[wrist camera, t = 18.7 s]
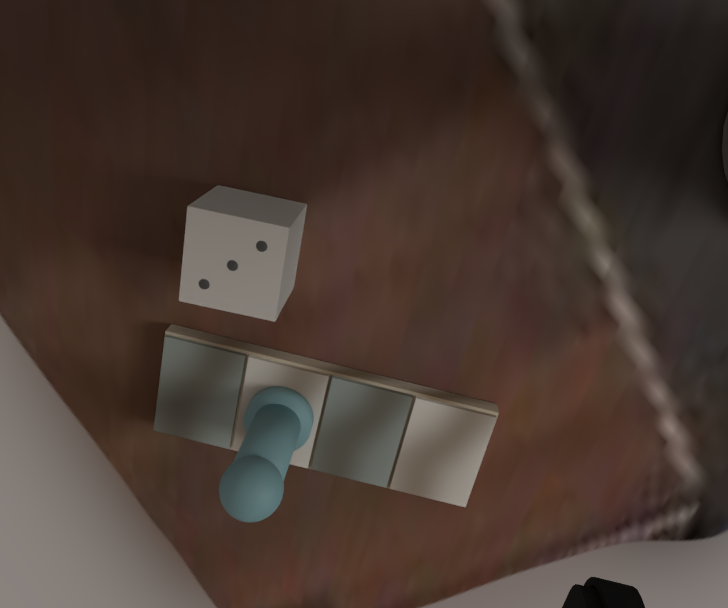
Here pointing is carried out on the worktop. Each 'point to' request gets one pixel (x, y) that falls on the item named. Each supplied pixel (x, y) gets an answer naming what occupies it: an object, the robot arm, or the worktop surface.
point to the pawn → (265, 453)
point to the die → (241, 252)
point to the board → (327, 414)
